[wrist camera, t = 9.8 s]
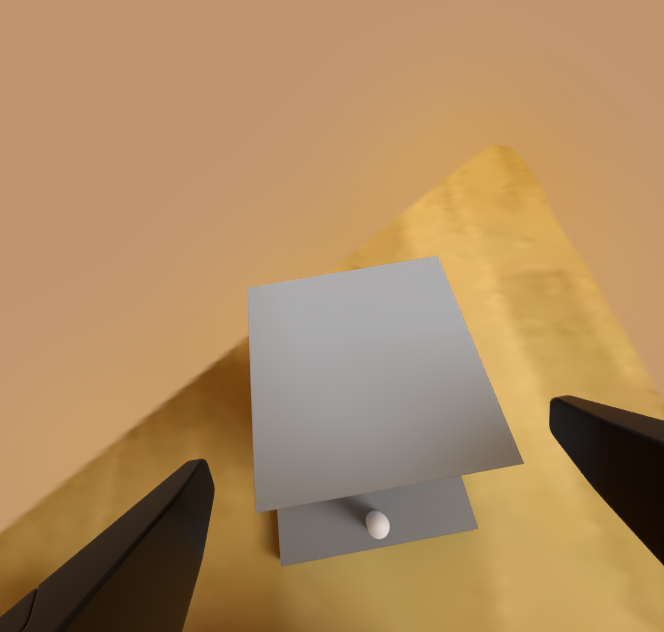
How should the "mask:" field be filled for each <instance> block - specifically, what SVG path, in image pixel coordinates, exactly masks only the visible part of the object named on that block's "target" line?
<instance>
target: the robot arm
mask: <svg viewBox="0 0 664 632" xmlns="http://www.w3.org/2000/svg"><path fill="white" fill-rule="evenodd" d="M549 427H550V430H551V433H552V434H553V436H554V437H555V439H556V440H557V441H558V443H559V444H560V445H561V447H562V448H563V449H564V450H565V452H566V453H567V454H568V456H569V457H570V458H571V460H572V461H573V462H574V464H575V465H576V466H577V467H578V469H579V470H580V471H581V473H582V474H583V475H584V477H585V478H586V479H587V480H588V482H589V483H590V484H591V485H592V487H593V488H594V489H595V490H596V491H597V493H598V494H599V495H600V496H601V497H602V498H603V499H604V501H605V502H606V503H607V504H608V505H609V506H610V507H611V508H612V509H613V511H614V512H615V513H616V514H617V515H618V516H619V517H620V518H621V519H622V520H623V522H624V523H625V524H626V525H627V526H628V527H629V528H630V529H631V530H632V531H633V533H634V534H635V535H636V536H637V537H638V538H639V539H640V540H641V541H642V542H643V544H644V545H645V546H646V547H647V548H648V549H649V550H650V551H651V552H652V553H653V555H654V556H655V557H656V558H657V559H658V560H659V561H660V562H661V563H662V564H663V566H664V421H663V420H660V419H656V418H652V417H648V416H645V415H641V414H637V413H634V412H630V411H626V410H622V409H619V408H615V407H611V406H607V405H604V404H600V403H596V402H593V401H589V400H585V399H581V398H578V397H574V396H570V395H566V396H560V397H554V398H553V399H551V401H550V416H549ZM214 491H215V490H214V483H213V480H212V476H211V473H210V470H209V467H208V464H207V462H206V460H205V459H197V460H191V461H188V462H186V463H185V464H184V465H183V466H181V467H180V468H179V469H178V470H177V471H175V472H174V473H173V474H172V475H171V476H169V477H168V478H167V479H166V480H165V481H163V482H162V483H161V484H160V485H159V486H157V487H156V488H155V489H154V490H153V491H151V492H150V493H149V494H148V495H147V496H145V497H144V498H143V499H142V500H141V501H139V502H138V503H137V504H136V505H135V506H133V507H132V508H131V509H130V510H129V511H127V512H126V513H125V514H124V515H123V516H121V517H120V518H119V519H118V520H117V521H115V522H114V523H113V524H112V525H111V526H109V527H108V528H107V529H106V530H104V531H103V532H102V533H101V534H100V535H98V536H97V537H96V538H95V539H94V540H92V541H91V542H90V543H89V544H88V545H86V546H85V547H84V548H83V549H82V550H80V551H79V552H78V553H77V554H76V555H74V556H73V557H72V558H71V559H70V560H68V561H67V562H66V563H65V564H64V565H62V566H61V567H60V568H59V569H58V570H56V571H55V572H54V573H53V574H52V575H50V576H49V577H48V578H47V579H46V580H44V581H43V582H42V583H41V584H40V585H39V586H38V589H34V590H32V591H31V592H30V593H29V594H27V595H26V596H25V597H24V598H23V599H22V600H20V601H19V602H18V603H17V604H16V605H14V606H13V607H12V608H11V609H10V610H8V611H7V612H6V613H5V614H3V615H2V616H1V617H0V632H182V630H183V626H184V623H185V619H186V616H187V612H188V609H189V605H190V602H191V598H192V595H193V591H194V588H195V584H196V580H197V577H198V573H199V570H200V566H201V562H202V558H203V553H204V548H205V543H206V537H207V532H208V526H209V521H210V515H211V510H212V504H213V499H214Z"/></svg>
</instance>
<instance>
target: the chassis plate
mask: <svg viewBox="0 0 664 632" xmlns="http://www.w3.org/2000/svg"><path fill="white" fill-rule="evenodd" d="M277 516H278V531H279V546H280V561H281V566H286V565H291V564H296V563H301V562H307V561H312V560H317V559H322V558H328V557H333V556H338V555H343V554H348V553H354V552H359V551H364V550H369V549H375V548H380V547H385V546H390V545H396V544H401V543H406V542H411V541H416V540H422V539H427V538H432V537H437V536H443V535H448V534H453V533H458V532H464V531H469V530H474V529H478V527H477V523H476V520H475V517H474V514H473V511H472V508H471V505H470V502H469V499H468V496H467V493H466V489H465V486H464V483H463V480H462V477H461V476H455V477H450V478H445V479H440V480H434V481H429V482H424V483H418V484H413V485H408V486H402V487H397V488H392V489H386V490H381V491H375V492H370V493H365V494H359V495H354V496H348V497H343V498H337V499H332V500H327V501H321V502H316V503H310V504H304V505H299V506H293V507H287V508H282V509H277Z"/></svg>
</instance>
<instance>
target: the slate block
mask: <svg viewBox="0 0 664 632" xmlns="http://www.w3.org/2000/svg"><path fill="white" fill-rule="evenodd" d="M247 294H248V295H247V296H248V322H249V349H250V376H251V403H252V429H253V456H254V483H255V510H256V513H259V512H265V511H271V510H276V509H282V508H287V507H293V506H299V505H304V504H310V503H316V502H321V501H327V500H332V499H337V498H343V497H348V496H354V495H359V494H365V493H370V492H375V491H381V490H386V489H392V488H397V487H402V486H408V485H413V484H418V483H424V482H429V481H434V480H440V479H445V478H450V477H455V476H461V475H466V474H471V473H477V472H482V471H487V470H492V469H498V468H503V467H508V466H513V465H519V464H524V463H523V460H522V458H521V455H520V453H519V451H518V448H517V446H516V443H515V441H514V439H513V436H512V434H511V431H510V429H509V427H508V424H507V422H506V419H505V417H504V415H503V412H502V410H501V407H500V405H499V402H498V400H497V398H496V395H495V393H494V390H493V388H492V386H491V383H490V381H489V378H488V376H487V374H486V371H485V369H484V366H483V364H482V362H481V359H480V357H479V354H478V352H477V349H476V347H475V345H474V342H473V340H472V337H471V335H470V333H469V330H468V328H467V325H466V323H465V321H464V318H463V316H462V313H461V311H460V309H459V306H458V304H457V301H456V299H455V296H454V294H453V292H452V289H451V287H450V284H449V282H448V280H447V277H446V275H445V272H444V270H443V268H442V265H441V263H440V260H439V258H438V256H433V257H428V258H422V259H416V260H410V261H404V262H398V263H392V264H386V265H380V266H374V267H369V268H363V269H357V270H351V271H345V272H339V273H333V274H327V275H321V276H315V277H310V278H304V279H298V280H292V281H286V282H280V283H274V284H269V285H262V286H256V287H250V288H247Z"/></svg>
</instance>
